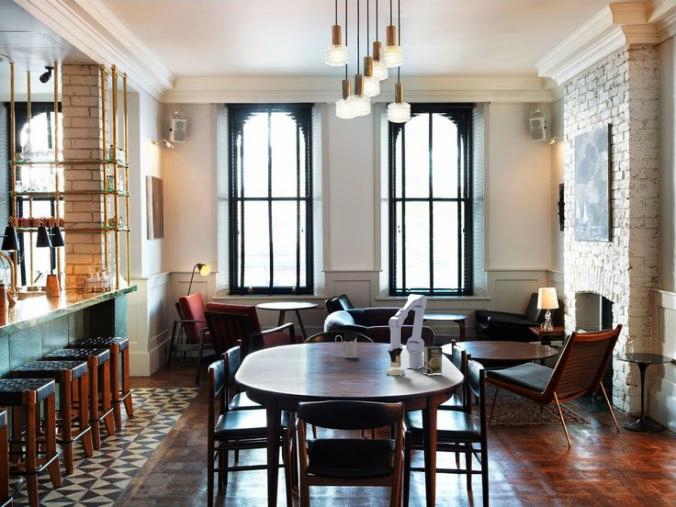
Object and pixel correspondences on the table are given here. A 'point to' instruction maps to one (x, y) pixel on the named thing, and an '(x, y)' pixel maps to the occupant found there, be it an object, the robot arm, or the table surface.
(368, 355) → the table surface
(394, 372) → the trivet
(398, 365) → the block
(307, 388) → the table surface
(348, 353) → the glass holder
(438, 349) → the coffee box
